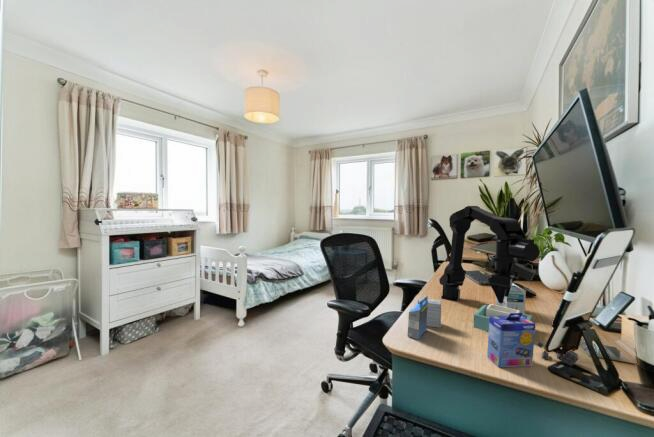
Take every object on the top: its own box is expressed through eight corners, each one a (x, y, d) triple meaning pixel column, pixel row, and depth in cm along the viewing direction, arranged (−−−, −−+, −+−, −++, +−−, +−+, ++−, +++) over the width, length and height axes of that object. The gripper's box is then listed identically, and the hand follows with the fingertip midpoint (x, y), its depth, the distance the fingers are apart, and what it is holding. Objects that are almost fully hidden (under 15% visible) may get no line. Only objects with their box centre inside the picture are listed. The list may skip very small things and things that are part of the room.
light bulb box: (525, 318, 105) (526, 290, 105) (505, 316, 106) (507, 289, 106) (512, 307, 116) (513, 282, 115) (494, 306, 117) (496, 281, 116)
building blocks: (578, 359, 72) (544, 337, 77) (564, 373, 74) (532, 351, 78) (577, 354, 75) (544, 333, 79) (564, 367, 77) (533, 346, 81)
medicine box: (440, 323, 100) (440, 299, 100) (440, 328, 96) (441, 304, 95) (417, 320, 103) (417, 297, 102) (417, 325, 98) (417, 301, 98)
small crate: (485, 324, 97) (486, 308, 97) (489, 319, 102) (490, 303, 101) (515, 333, 91) (516, 315, 91) (518, 327, 96) (519, 310, 95)
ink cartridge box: (499, 368, 72) (501, 315, 72) (485, 357, 78) (487, 307, 77) (534, 367, 73) (537, 314, 72) (518, 355, 79) (520, 306, 78)
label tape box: (415, 326, 97) (416, 292, 96) (427, 330, 95) (428, 294, 94) (407, 336, 90) (407, 299, 89) (419, 340, 87) (420, 302, 87)
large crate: (473, 328, 97) (473, 314, 97) (483, 317, 106) (483, 304, 106) (525, 343, 87) (526, 327, 86) (531, 329, 96) (531, 315, 96)
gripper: (530, 262, 83) (528, 313, 83) (537, 254, 96) (535, 298, 97) (488, 257, 90) (486, 304, 91) (500, 251, 104) (499, 291, 105)
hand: (503, 299), depth 96 cm, fingers open, 9 cm apart
